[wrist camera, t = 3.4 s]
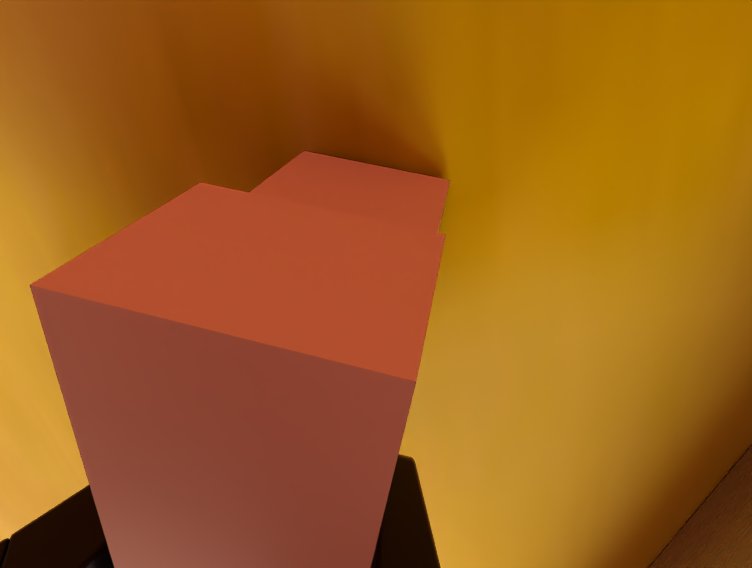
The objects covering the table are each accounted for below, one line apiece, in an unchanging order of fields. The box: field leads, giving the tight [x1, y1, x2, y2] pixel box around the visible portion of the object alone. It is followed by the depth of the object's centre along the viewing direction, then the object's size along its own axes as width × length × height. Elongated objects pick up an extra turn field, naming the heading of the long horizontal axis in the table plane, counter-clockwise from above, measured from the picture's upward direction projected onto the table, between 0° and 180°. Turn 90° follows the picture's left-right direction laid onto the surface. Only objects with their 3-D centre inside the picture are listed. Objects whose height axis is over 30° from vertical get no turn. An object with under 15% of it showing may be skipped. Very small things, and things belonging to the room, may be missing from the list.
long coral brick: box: [30, 151, 450, 568], centre depth 9 cm, size 10×3×6 cm, turn 173°
